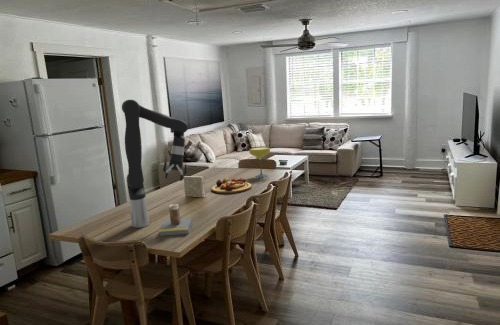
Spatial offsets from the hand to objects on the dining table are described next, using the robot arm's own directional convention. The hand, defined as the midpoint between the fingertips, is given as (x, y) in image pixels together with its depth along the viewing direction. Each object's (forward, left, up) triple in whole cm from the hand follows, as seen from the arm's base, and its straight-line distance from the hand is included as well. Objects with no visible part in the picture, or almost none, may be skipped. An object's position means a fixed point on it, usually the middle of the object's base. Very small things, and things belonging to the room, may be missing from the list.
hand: (173, 179), depth 232 cm
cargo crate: (+3, -20, -21) cm, 29 cm away
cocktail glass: (+55, +101, -25) cm, 118 cm away
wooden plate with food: (+30, +65, -26) cm, 76 cm away
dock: (+3, -20, -25) cm, 32 cm away
